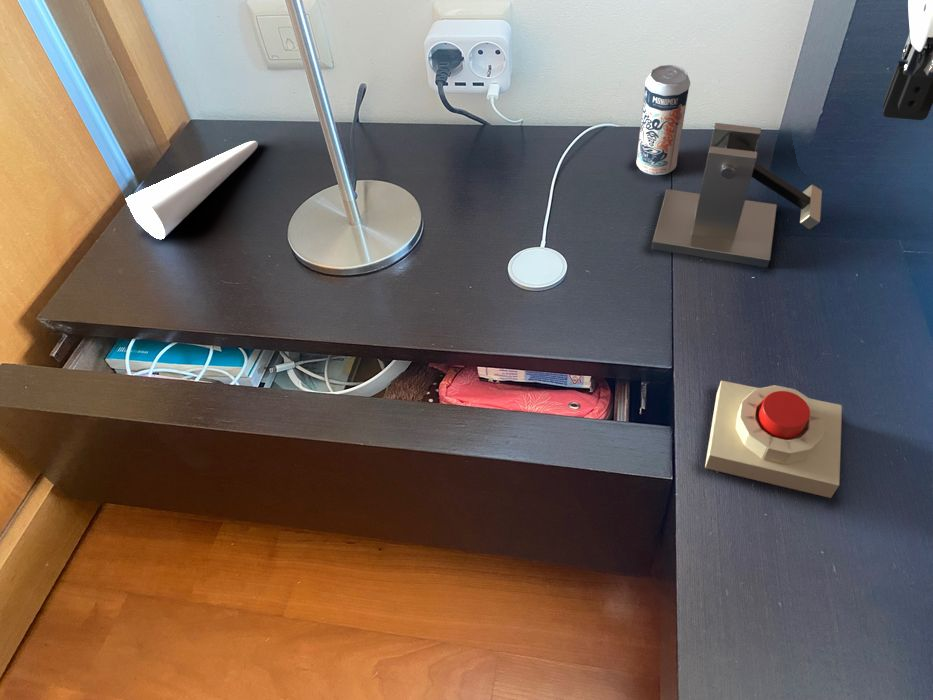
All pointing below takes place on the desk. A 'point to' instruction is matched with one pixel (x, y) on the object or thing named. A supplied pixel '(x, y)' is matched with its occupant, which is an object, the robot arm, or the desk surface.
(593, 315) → the desk surface
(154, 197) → the long cone
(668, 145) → the beer can
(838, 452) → the switch block
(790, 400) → the button
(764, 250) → the bracket
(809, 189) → the lever
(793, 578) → the desk surface
